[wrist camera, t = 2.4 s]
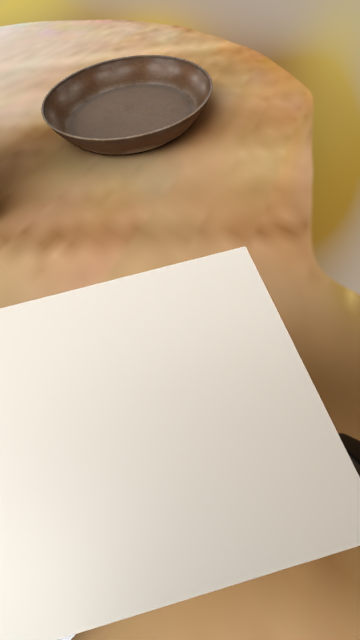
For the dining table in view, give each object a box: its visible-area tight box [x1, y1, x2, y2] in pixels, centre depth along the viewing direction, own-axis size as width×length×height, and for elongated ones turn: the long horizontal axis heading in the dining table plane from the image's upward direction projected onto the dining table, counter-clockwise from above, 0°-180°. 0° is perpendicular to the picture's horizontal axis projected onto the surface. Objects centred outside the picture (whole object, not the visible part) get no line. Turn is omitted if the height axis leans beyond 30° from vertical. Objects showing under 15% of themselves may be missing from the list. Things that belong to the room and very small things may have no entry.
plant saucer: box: [41, 55, 212, 155], centre depth 34 cm, size 21×21×3 cm
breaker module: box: [0, 247, 360, 640], centre depth 11 cm, size 7×6×13 cm
